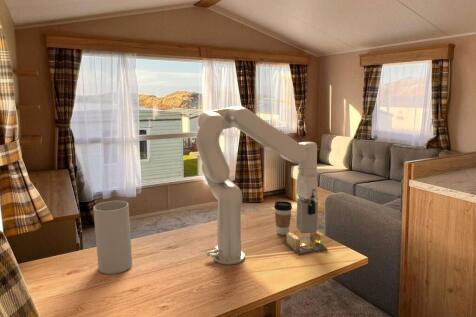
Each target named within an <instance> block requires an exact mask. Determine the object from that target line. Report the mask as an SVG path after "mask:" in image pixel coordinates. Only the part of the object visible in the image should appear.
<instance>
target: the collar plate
mask: <svg viewBox="0 0 476 317" xmlns="http://www.w3.org/2000/svg"><path fill="white" fill-rule="evenodd" d="M283 244H284V245H285V246H286V247H287V248H289V249H290V250H291V251H293V253H295V254H296V255H297V256H302V255H308V254H309V255H310V254H315V253H318V252H319V251H320V252H324V251H323V250H325V251H328V247H327V246H325V234H324V233H323V232H321V231H319V230H318V229H317V232H315V233H309V236H306V237H301V238H300V237H298V236H297V235H296V234H294V233H293V232H291V231H289V232H288V233H287V234H286V240H284V241H283ZM320 252H319V253H320Z"/></svg>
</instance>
